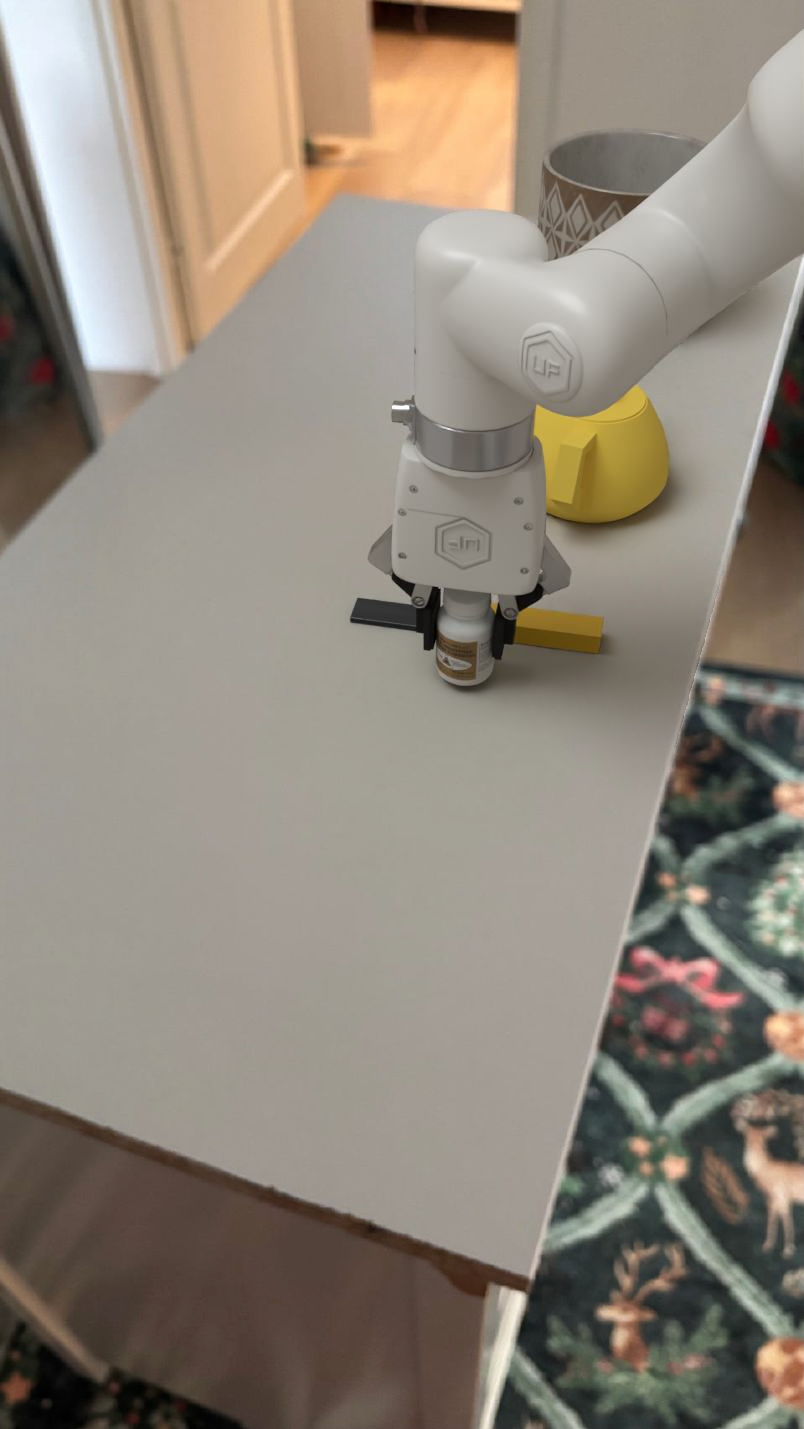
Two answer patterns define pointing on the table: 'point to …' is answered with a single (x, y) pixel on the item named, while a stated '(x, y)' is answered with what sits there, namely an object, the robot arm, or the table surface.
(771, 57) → the robot arm
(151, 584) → the table surface
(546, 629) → the knife
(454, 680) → the pill bottle
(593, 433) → the teapot
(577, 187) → the planter
